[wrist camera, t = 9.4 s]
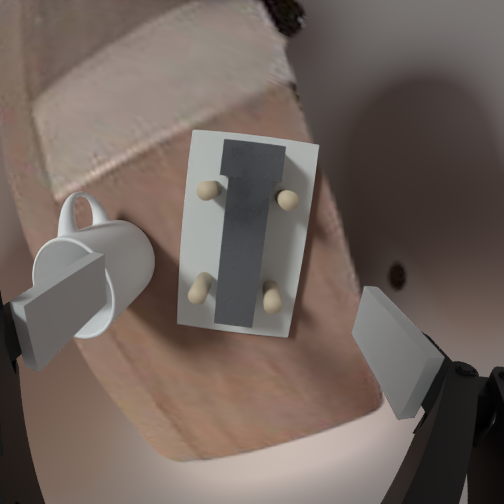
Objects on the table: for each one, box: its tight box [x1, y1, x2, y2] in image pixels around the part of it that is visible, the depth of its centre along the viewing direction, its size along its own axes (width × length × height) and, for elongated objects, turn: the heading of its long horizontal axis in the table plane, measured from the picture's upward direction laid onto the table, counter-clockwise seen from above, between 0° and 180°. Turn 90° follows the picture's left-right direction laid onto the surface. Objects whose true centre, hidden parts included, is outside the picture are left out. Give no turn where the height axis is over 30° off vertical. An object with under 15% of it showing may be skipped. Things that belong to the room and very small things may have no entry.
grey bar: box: [214, 139, 286, 328], centre depth 27 cm, size 16×5×4 cm, turn 173°
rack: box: [177, 130, 319, 338], centre depth 27 cm, size 20×12×6 cm, turn 173°
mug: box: [33, 192, 155, 339], centre depth 25 cm, size 9×12×11 cm
